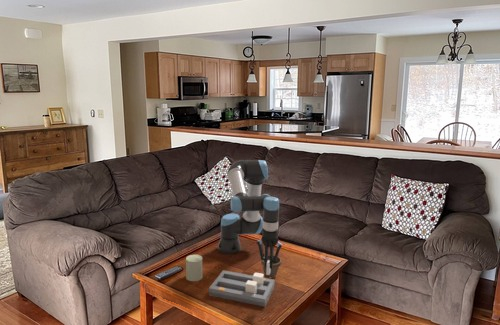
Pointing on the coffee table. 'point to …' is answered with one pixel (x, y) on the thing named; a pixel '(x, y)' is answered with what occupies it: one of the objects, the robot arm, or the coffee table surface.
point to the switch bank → (241, 288)
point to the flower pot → (274, 268)
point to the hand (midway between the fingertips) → (268, 273)
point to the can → (194, 267)
